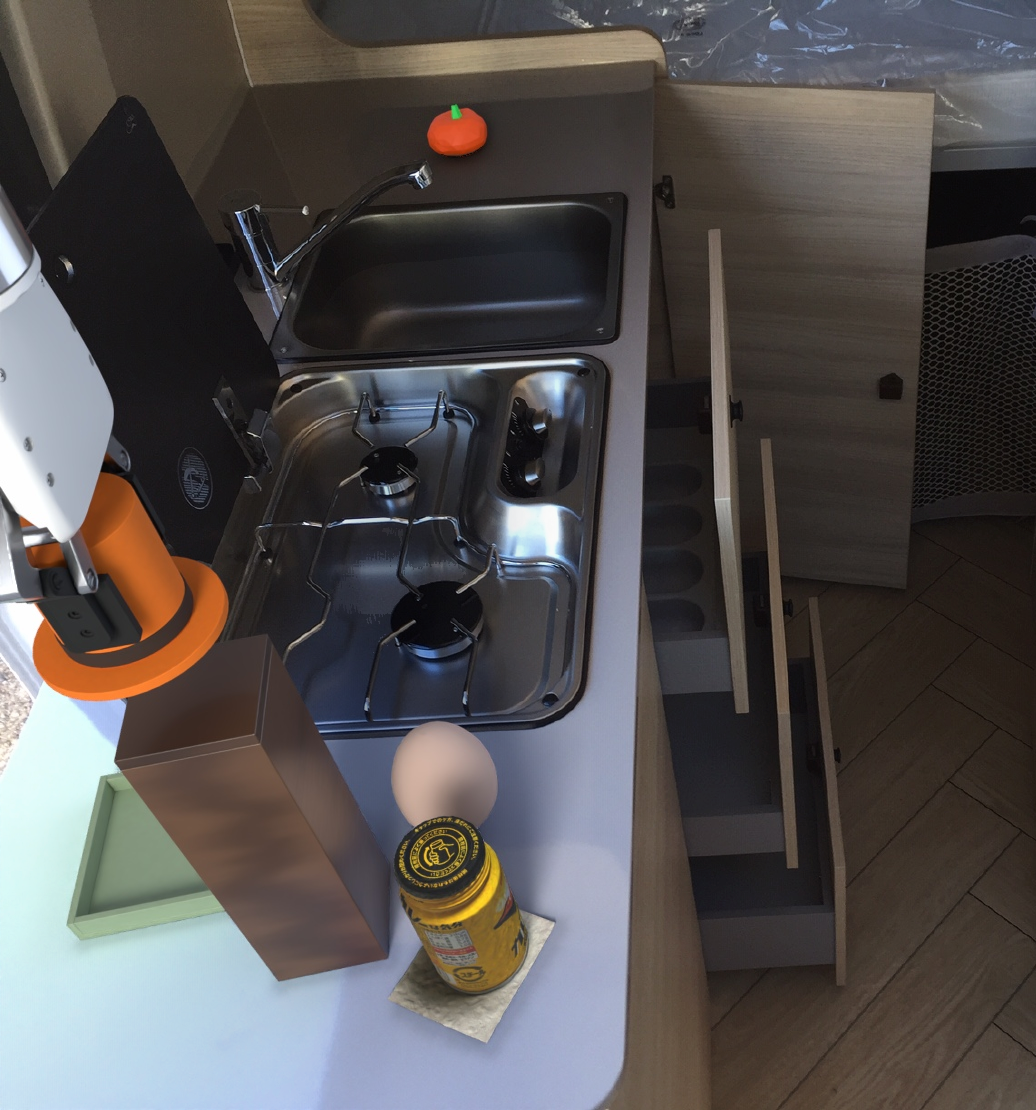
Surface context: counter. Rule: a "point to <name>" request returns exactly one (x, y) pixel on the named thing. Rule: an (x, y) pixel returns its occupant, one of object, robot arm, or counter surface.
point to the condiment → (462, 928)
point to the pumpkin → (457, 132)
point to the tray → (132, 869)
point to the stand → (260, 809)
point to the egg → (443, 775)
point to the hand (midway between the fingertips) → (120, 589)
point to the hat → (133, 603)
